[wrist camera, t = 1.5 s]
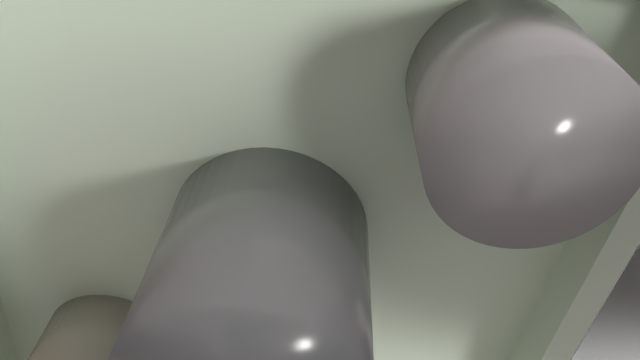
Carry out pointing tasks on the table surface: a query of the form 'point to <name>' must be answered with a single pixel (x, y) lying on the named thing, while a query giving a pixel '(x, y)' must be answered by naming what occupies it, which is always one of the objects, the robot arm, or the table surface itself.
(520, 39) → the pebble
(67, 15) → the tray
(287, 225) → the grey rounded cylinder
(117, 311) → the pebble
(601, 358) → the table surface
